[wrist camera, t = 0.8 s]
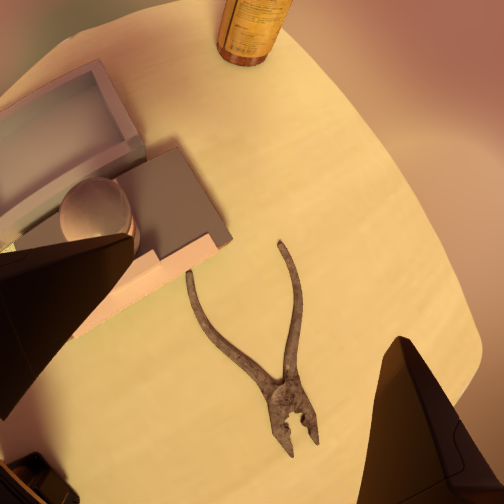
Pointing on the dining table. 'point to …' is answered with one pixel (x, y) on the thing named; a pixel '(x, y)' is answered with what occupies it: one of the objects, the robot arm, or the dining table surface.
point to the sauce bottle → (250, 29)
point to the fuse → (97, 211)
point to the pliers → (277, 396)
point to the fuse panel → (152, 231)
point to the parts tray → (61, 146)
